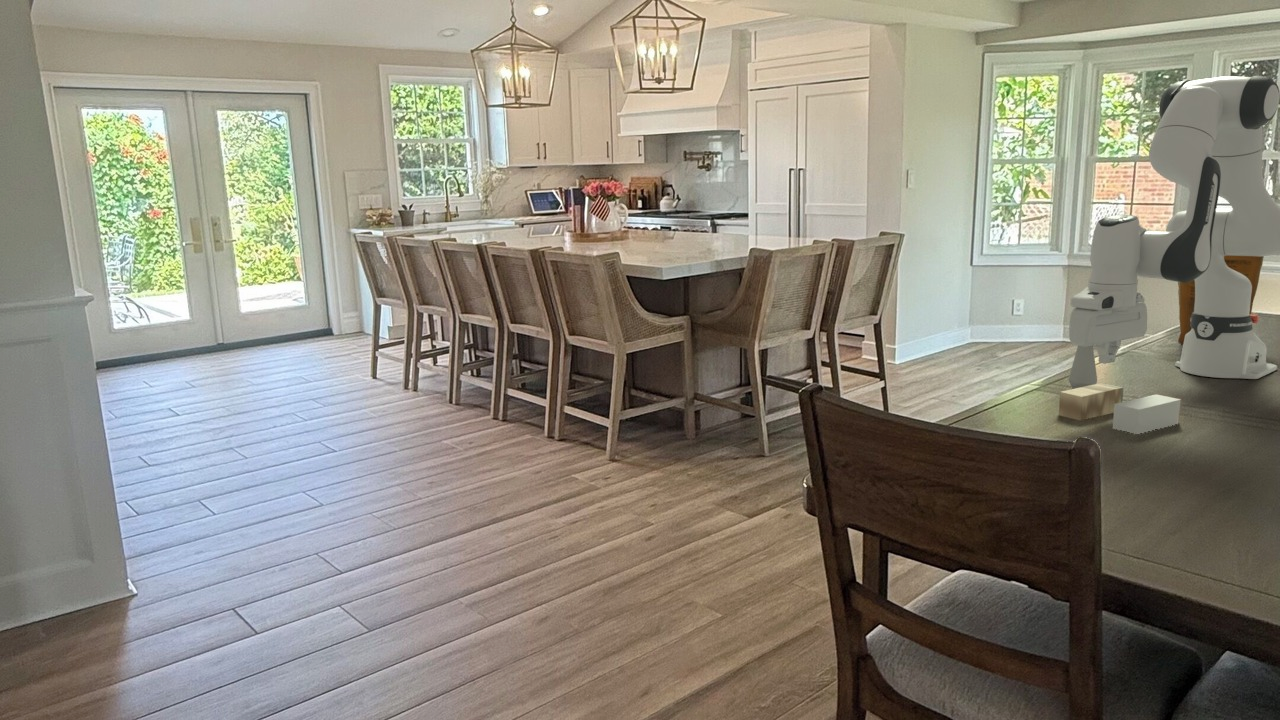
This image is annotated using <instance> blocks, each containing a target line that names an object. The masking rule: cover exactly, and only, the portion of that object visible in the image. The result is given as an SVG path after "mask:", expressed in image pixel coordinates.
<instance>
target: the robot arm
mask: <svg viewBox="0 0 1280 720" xmlns="http://www.w3.org/2000/svg"><path fill="white" fill-rule="evenodd" d="M1279 103H1280V89H1279V86H1278V84H1277V83H1276V81H1275V80H1273V78H1271V77H1267V76H1262V75H1253V76H1239V75H1237V76H1234V75H1233V76H1231V75H1228V76H1227V75H1226V76H1219V77H1211V78H1210V77H1209V78H1201V79H1195V80H1190V79H1187V80H1182V81H1181V80H1180V81H1176V82H1175V83H1173V84H1171V85H1170V86H1169V87H1168V88H1166V90H1165V91H1164V92H1163V94H1162V96H1161V98H1160V102H1159V112H1158V113H1159V117H1160V118H1159V119H1160V120H1159V123H1158V126H1157V127H1156V130H1155V133H1154V135H1153V138H1152V140H1151V143H1150V146H1149V152H1148V161H1149V163H1150V165H1151V167H1152V168H1153V170H1154V171H1155V172H1156V173H1157V174H1159V175H1160V176H1161V177H1163V178H1164V179H1166V180H1168V181H1169V182H1172V183H1175V184H1176V185H1177V184H1178V185H1180V186H1182V187H1185V188H1187V189H1188V191H1189V192H1188V193H1189V194H1188V199H1187V200H1188V201H1187V206H1186V209H1185V210H1181V211H1178V212H1176V213H1175V214H1173V216H1172V217H1171V218H1170V220H1169V221H1168V222H1167V226H1166V228H1165V230H1153V229H1147V228H1145V227H1143V226H1141V225H1140V219H1139V217H1137V216H1135V215H1133V214H1117V215H1108V216H1106V217H1103V218H1101V219H1099V220H1098V221H1097V222H1096V224H1095V227H1094V229H1093V235H1092V240H1091V245H1090V246H1091V247H1090V254H1089V255H1090V256H1089V257H1090V258H1089V263H1090V264H1091V272H1090V275H1089V278H1088V284H1087V285H1088V286H1086V287H1085V288H1084V289H1082V290H1081V291H1080V292H1078V293H1076V294H1074V295H1073V296H1072V297H1071V299H1070V306H1071V308H1073V310H1072V311H1071V313H1070V316H1069V327H1068V329H1069V331H1068V338H1069V341H1070V343H1071V345H1072V346H1077V347H1078V346H1083V347H1088V346H1093V347H1094V346H1095V349H1096V352H1097V354H1098V363H1099V364H1104V365H1105V364H1111V363H1114V362H1116V356H1117V354H1118V352H1119V349H1120V347H1121V343H1122V341H1125V340H1130V339H1136V338H1141V337H1144V336H1145V335H1146V333H1147V330H1148V310H1147V308H1148V307H1147V305H1146V303H1145V297H1143V295H1142V293H1141V292H1137V291H1138V282H1139V281H1138V280H1139V279H1138V277H1140V278H1149V279H1157V280H1158V279H1160V280H1167V281H1172V282H1177V283H1178V282H1182V283H1188V282H1191V281H1192V280H1195V305H1194V312H1193V313H1192V316H1191V319H1190V321H1191V324H1190V327H1191V328H1192V329H1191V331H1190V332H1188V333H1187V334H1186V335H1185V339H1184V344H1183V345H1182V349H1181V350H1182V351H1181V356H1180V360H1177V361H1176V362H1175V367H1177V368H1180V369H1179V370H1181V372H1184V373H1187V374H1191V375H1196V376H1200V377H1207V378H1208V377H1210V378H1217V379H1218V378H1219V379H1248V380H1257V379H1260V378H1262V377H1265V376H1266V375H1269V374H1270V373H1272V372H1275V371H1277V370H1278V365H1276V364H1273V363H1270V362H1267V350H1268V349H1267V345H1266V343H1264V342H1263V341H1262V340H1261V339H1260V338H1259V337H1258V336H1257V335H1256V333H1254V331H1253V328H1254V327H1253V324H1258V323H1259V320H1260V316H1259V315H1258V314H1252V313H1251V314H1249V311H1250V302H1251V293H1252V285H1251V282H1250V280H1249V279H1248V278H1247V277H1246V276H1244V275H1243V274H1241V273H1239V272H1237V271H1235V270H1233V269H1231V268H1229V267H1228V266H1227V265H1226V263H1225V261H1224V256H1227V255H1228V256H1259V257H1260V256H1264V257H1267V256H1275V255H1276V256H1277V255H1280V205H1279V204H1278V203H1277V202H1275V200H1273V198H1272V197H1271V195H1270V194H1269V192H1268V190H1267V189H1266V185H1265V183H1264V177H1263V150H1264V149H1263V146H1264V145H1263V144H1264V139H1263V138H1264V136H1263V135H1264V134H1263V126H1266V124H1267V123H1269V122H1270V121H1271V120H1272V119H1273V118H1274V116H1275V115H1276V113H1277V110H1278V109H1279V108H1278V107H1279ZM1219 197H1220V198H1223V199H1224V200H1226V201H1227V202H1228V203H1229V204H1230V206H1231V208H1230V207H1224V208H1223V207H1222V208H1221V207H1217V206H1218V201H1219Z"/></svg>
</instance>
